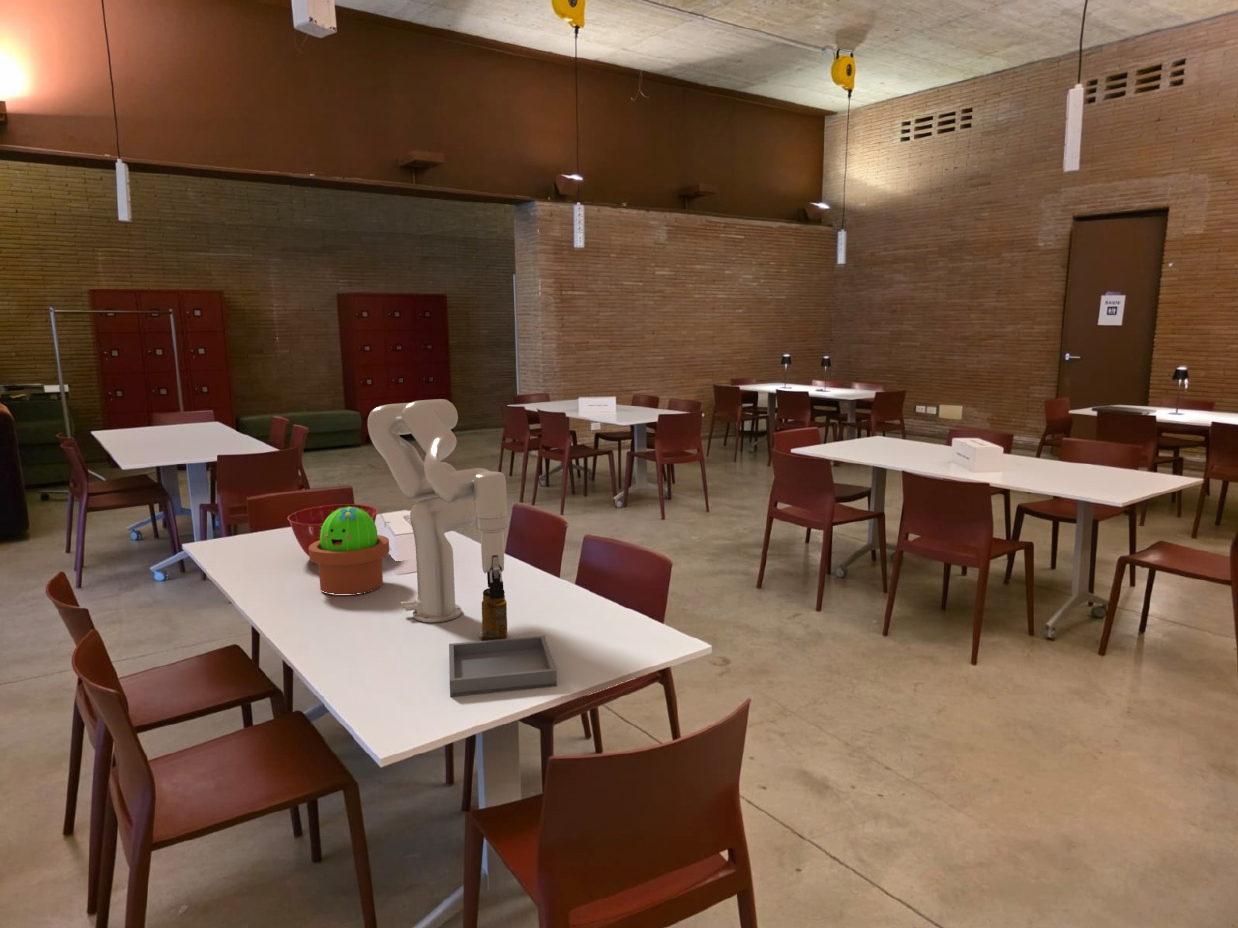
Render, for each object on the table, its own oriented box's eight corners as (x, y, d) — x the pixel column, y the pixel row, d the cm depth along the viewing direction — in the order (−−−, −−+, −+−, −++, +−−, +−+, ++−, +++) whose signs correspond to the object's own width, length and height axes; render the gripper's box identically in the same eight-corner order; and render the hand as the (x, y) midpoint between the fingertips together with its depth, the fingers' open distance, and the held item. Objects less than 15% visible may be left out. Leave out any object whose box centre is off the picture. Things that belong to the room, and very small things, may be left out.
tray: (450, 696, 158) (449, 680, 157) (449, 658, 177) (449, 643, 176) (556, 685, 162) (556, 670, 162) (544, 649, 182) (544, 635, 181)
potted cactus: (334, 575, 240) (329, 497, 237) (401, 577, 238) (397, 498, 234) (298, 598, 219) (291, 512, 215) (372, 600, 217) (367, 514, 213)
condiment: (506, 630, 194) (504, 584, 192) (513, 642, 186) (512, 594, 184) (477, 634, 192) (475, 587, 190) (483, 646, 184) (481, 598, 182)
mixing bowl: (363, 569, 246) (361, 522, 244) (275, 569, 247) (271, 522, 244) (390, 546, 274) (388, 504, 272) (311, 546, 275) (308, 504, 272)
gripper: (474, 517, 192) (478, 583, 194) (477, 532, 175) (481, 604, 177) (505, 515, 193) (508, 581, 196) (510, 529, 177) (514, 601, 179)
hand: (495, 592), depth 186 cm, fingers open, 9 cm apart
